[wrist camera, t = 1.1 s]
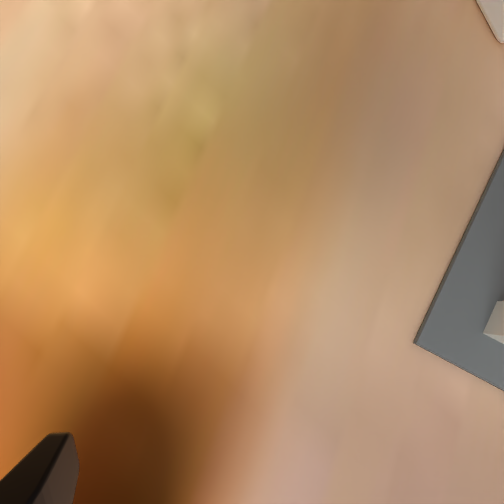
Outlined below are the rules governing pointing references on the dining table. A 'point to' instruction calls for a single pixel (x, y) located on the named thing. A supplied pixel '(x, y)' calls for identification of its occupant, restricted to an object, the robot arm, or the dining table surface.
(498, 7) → the pepper shaker
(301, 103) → the dining table surface
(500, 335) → the block
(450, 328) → the mat
